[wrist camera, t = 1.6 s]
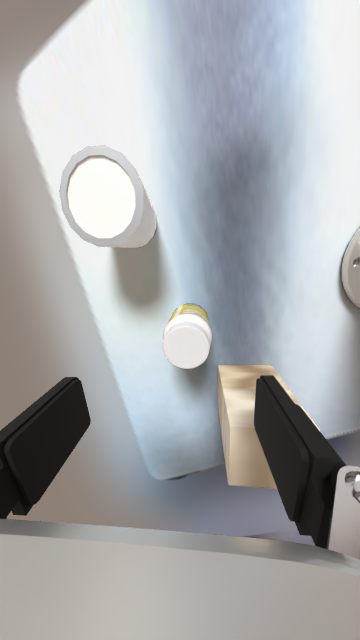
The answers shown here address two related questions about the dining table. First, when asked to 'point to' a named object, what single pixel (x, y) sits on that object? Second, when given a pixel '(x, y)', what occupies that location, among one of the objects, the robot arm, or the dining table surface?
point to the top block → (245, 440)
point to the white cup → (106, 199)
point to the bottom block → (242, 379)
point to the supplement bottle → (187, 336)
